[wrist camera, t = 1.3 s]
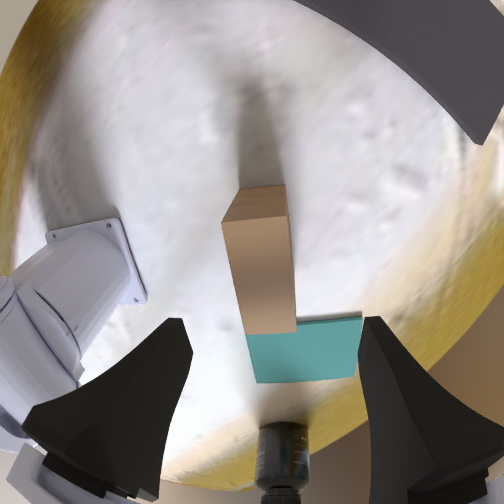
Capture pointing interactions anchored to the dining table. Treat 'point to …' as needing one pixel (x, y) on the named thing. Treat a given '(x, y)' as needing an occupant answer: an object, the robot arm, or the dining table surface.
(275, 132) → the dining table surface
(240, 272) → the brown block
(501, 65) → the notebook
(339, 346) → the teal mat
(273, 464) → the supplement bottle
